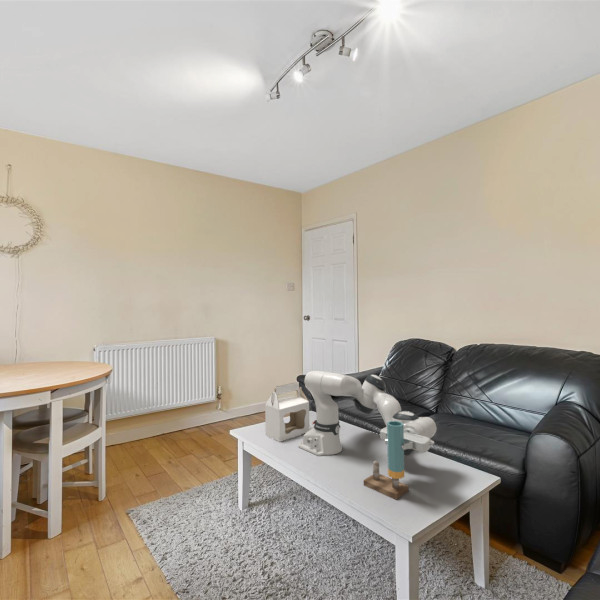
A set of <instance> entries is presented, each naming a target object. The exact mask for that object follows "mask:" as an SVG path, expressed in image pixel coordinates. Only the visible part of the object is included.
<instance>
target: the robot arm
mask: <svg viewBox="0 0 600 600" xmlns="http://www.w3.org/2000/svg"><path fill="white" fill-rule="evenodd" d="M303 383H304V385H305V388H306V389H307V390H308V391H309V392H310V394H311V396H312V397H313V401H314V404H315V410H316V419H315V420H314V421H312V423H311V425H313V427H312V428H309V431H308V432H306V433H305V434H303V440H302V441H300V442H299V444H298V448H300V449H301V450H305V451H307V452H309V453H311V454H314V455H316V456H319V457H320V456H325V455H326V456H331V455H332V456H333V455H336V454H340V453H341V452H342V451H343V447H342V443H341V438H340V428H341V427H340V428H339V425H340V420H339V406H338V403H336V401H335V400H333V398H332V396H334V397H353V398H352V401H353V404H354V407H355V408H356V409H357V411H359V412H360V413H362V414H365V415H371V413H372V412H374V410H375V407H376V408H377V410H378V412H379V413H380V416H381V417H382V419H383V422H384V424H385V427H383V428H381V429H380V431H379V436H380V439H381V440H383V441H384V444H385V445H387V422H389V421H398V422H402V423H403V427H404V443H403V444H401V449H403V450H404V457H405V456H406V457H407V456H410V455H411V454H413V452H415V451H417V452H419V453H420V452H421V453H426V452H428V451H429V450H430V448H431V446H433V445H434V444H435V441H434V440H433V439H431V438H432V437H434V435H435V434H436V432H437V425H436V422H435V420H434V419H433V418H431V417H429V416H418V415H417V414H415V413H414V412H412V411H408V410H402V407H401V404H400V403H399V401H398V400H397V399H396V397H394V396H393V395H391V394H389V393H386V392H385V391H386V390H387V387H385V386H386V385H385V382H384V379H382V378H381V377H380V376H378V375H376V374H372V373H371V374H367V376H366V377H365V379H364V382H363V384H362V383H361V381H360V380H359V379H358V378H356V377H354V376H351V375H347V374H342V373H339V372H331V371H323V370H310V371H308V372H307V373H306V375H305V376H304V382H303Z"/></svg>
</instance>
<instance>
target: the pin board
mask: <svg viewBox="0 0 600 600" xmlns="http://www.w3.org/2000/svg"><path fill="white" fill-rule="evenodd" d="M363 486H364V487H367V488H369V489H372V490H373V491H376V492H379V493H380V494H382V495H385V496H387V497H389V498H391V499H394V500H395V501H396V500H398V499H399V498H401V497H402V496H404V495H405V494H406V493H408V492H409V485H408V484H405V483H403V482H401V481H400V479H394V478H392V477H389V476H386V475H383V474H381V473H380V463H379V461H378V460H374V461H372V475H370V476H368V477H366V478H365V479H363Z"/></svg>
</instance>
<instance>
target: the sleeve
mask: <svg viewBox="0 0 600 600" xmlns="http://www.w3.org/2000/svg"><path fill="white" fill-rule="evenodd" d="M403 443H404V427H403V423H402V422H398V421H389V422H387V444H386V445H387V446H386V447H387V448H386V449H387V475H388V477H389V478H391V479H392V478H394V479H399V480H400V479H402V478H404V477H405V456H404V450H403V449H401V444H403Z"/></svg>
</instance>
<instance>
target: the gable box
mask: <svg viewBox="0 0 600 600" xmlns="http://www.w3.org/2000/svg"><path fill="white" fill-rule="evenodd" d="M273 390H274V391H273V392H272V393H271V395H270V397H269V398H268V399H267V402H265V405H264V408H265V413H264V414H265V415H264V416H265V417H264V418H265V422H264V423H265V436H266V435H267V436H266V437H268V436H269V437H268V438H270V437H271V439H272V438H273V440H275V441H277V442H279V443H281V442H284V441H287V440H290V439H292V437H293V438H296V437H298V435H299V436H302V435H305V434H304V433H306V432H308V431H309V430H310V400H309V399H308V397H307V396H306V394H305V393H304V390H303V388H302V386H300V385H299V382H298V381H297V382H292V383H288V384H282V385H278V386H275V387H274V388H273ZM290 392H291V393H292V392H295V394H294V397H290V398H286V399H282V400H281V399H280V400H279V398H278V395H282V394H285V393H286V394H287V393H290ZM287 414H289V422H285V420H284V417H285V416H286V415H287ZM301 434H302V435H301ZM295 436H296V437H295ZM289 438H290V439H289ZM286 439H287V440H286ZM283 440H284V441H283Z"/></svg>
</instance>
